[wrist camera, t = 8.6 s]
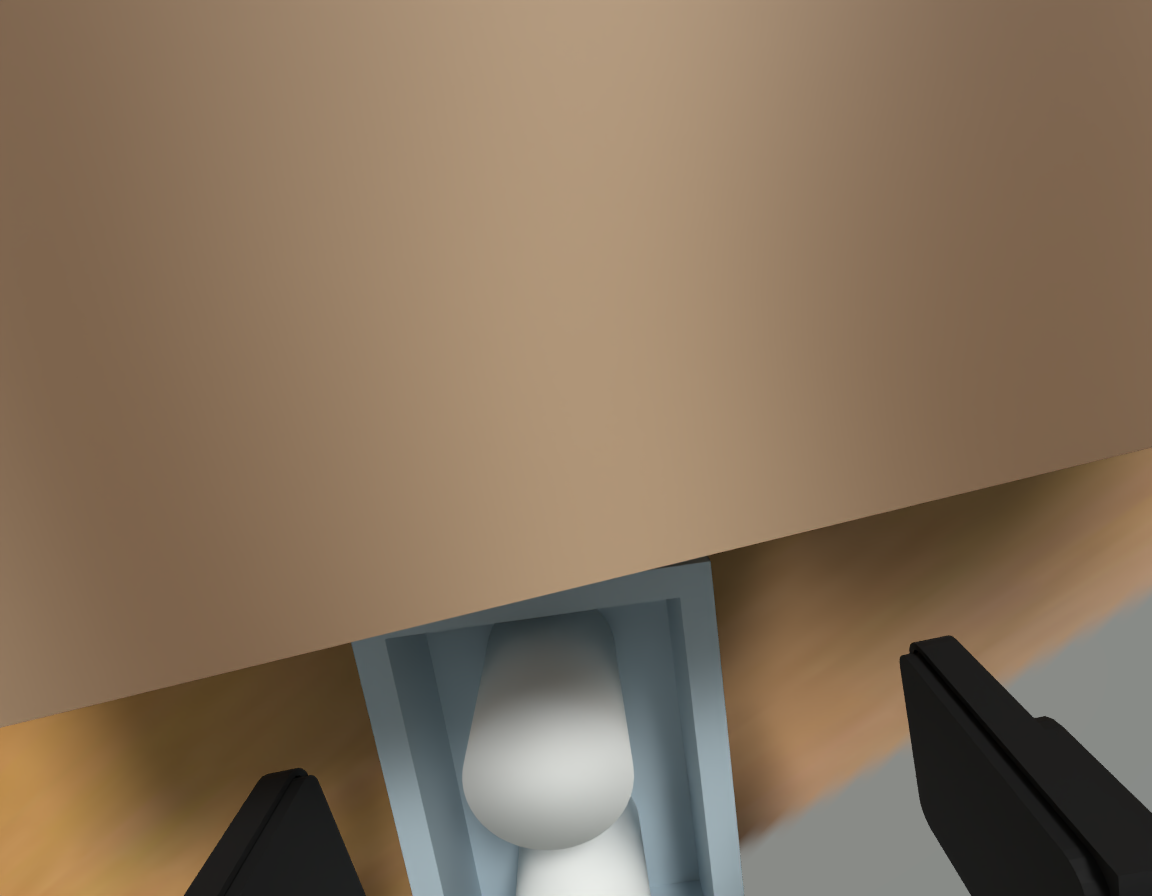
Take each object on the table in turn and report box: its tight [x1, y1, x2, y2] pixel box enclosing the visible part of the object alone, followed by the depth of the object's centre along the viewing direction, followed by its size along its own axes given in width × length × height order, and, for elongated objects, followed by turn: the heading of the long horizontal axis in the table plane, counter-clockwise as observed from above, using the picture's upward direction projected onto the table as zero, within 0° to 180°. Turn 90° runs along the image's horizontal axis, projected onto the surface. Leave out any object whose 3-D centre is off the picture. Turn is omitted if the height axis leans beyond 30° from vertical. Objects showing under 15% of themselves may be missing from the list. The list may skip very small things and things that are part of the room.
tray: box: [351, 556, 744, 896], centre depth 14 cm, size 6×10×5 cm, turn 8°
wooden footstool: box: [0, 0, 1152, 728], centre depth 9 cm, size 14×8×10 cm, turn 104°
